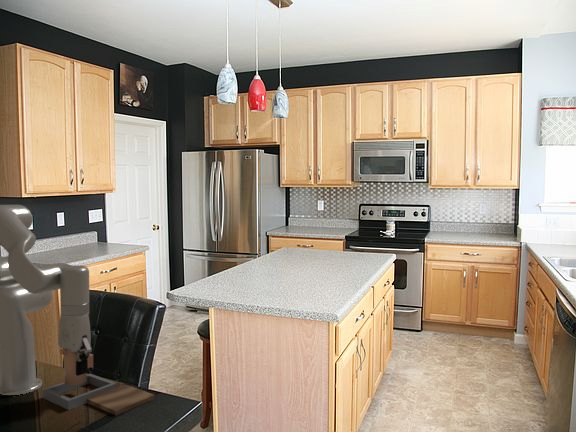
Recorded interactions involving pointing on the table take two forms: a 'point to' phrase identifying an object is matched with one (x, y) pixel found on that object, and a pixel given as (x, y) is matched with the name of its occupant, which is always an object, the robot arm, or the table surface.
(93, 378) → the holder frame
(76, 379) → the tan tapered capsule
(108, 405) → the board
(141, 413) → the table surface
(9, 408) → the table surface
